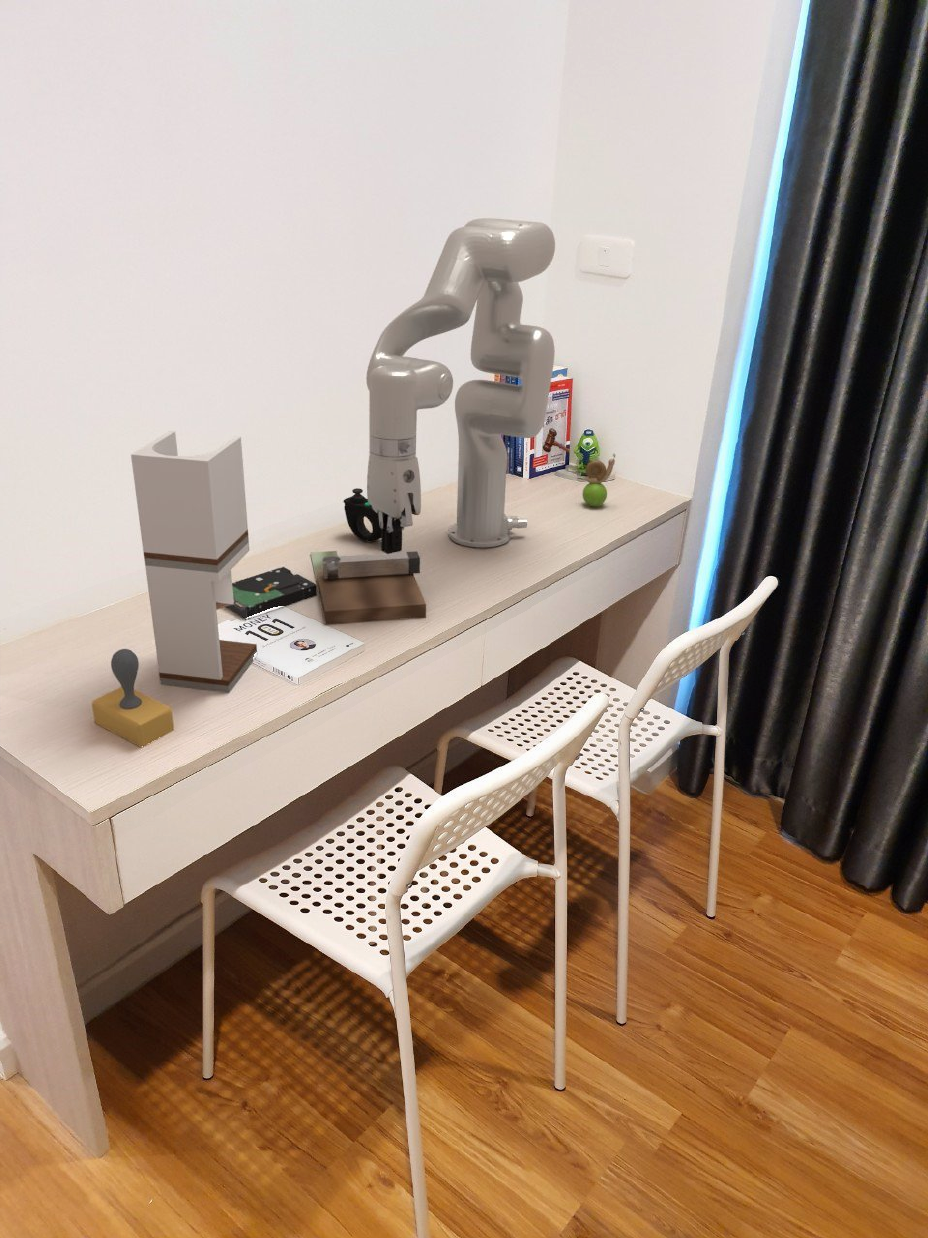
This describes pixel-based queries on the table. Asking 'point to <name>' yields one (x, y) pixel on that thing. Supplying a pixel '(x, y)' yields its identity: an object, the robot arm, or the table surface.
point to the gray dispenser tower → (192, 558)
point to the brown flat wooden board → (367, 596)
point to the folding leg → (370, 565)
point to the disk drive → (270, 591)
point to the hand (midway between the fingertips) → (391, 550)
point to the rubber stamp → (131, 706)
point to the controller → (361, 517)
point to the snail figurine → (597, 482)
